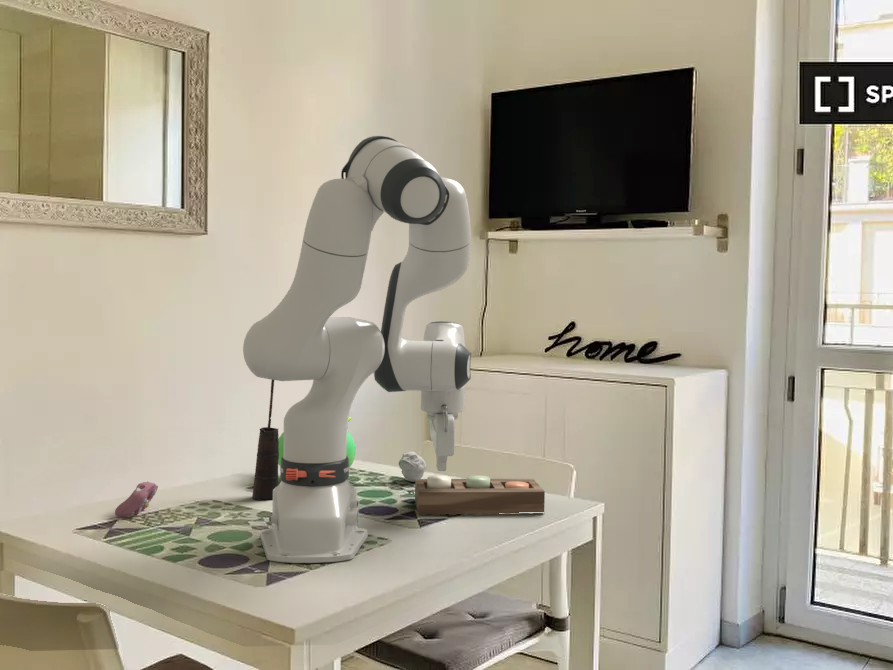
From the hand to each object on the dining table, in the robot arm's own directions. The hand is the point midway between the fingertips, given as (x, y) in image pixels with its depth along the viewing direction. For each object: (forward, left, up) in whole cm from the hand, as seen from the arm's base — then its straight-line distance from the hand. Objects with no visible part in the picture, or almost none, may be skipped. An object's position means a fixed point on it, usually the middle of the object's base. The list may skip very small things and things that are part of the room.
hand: (441, 469), depth 182 cm
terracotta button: (0, -16, -6) cm, 17 cm away
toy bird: (+26, +26, -8) cm, 38 cm away
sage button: (0, -8, -4) cm, 9 cm away
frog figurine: (+24, +4, -8) cm, 26 cm away
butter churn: (+8, +36, -8) cm, 38 cm away
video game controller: (-2, +59, -8) cm, 60 cm away
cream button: (0, 0, -4) cm, 4 cm away
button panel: (0, -8, -8) cm, 11 cm away
